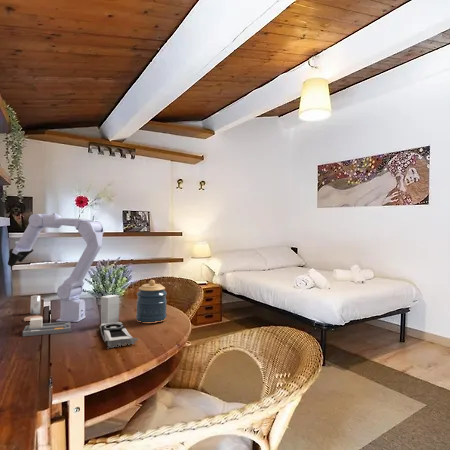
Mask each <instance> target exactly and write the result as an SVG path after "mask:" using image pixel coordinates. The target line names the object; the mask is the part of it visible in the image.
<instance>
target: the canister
mask: <svg viewBox="0 0 450 450" xmlns="http://www.w3.org/2000/svg"><path fill="white" fill-rule="evenodd" d="M167 295H168V293H167V291H166V287H165V286H164V285H162V284H160V283H156V281H155V280H154V279H150V280H149V281H148V283H145V284H142V285H141V286H139V287H138V292H136V296H137V300H136V314H135V319H136V321H137V320H138V321H141V322H155V321H161V320H164V319H165V318H166V319H167V301H168V300H167V299H166V298H167Z"/></svg>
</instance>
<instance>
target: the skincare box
mask: <svg viewBox="0 0 450 450" xmlns="http://www.w3.org/2000/svg"><path fill="white" fill-rule="evenodd" d="M119 314H120V295H118V294H113V295H112V294H109V295H103V296H100V325H101V324H107V323H116V322H120V321H119V320H120V318H119V317H120V315H119Z"/></svg>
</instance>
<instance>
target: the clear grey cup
mask: <svg viewBox="0 0 450 450" xmlns="http://www.w3.org/2000/svg"><path fill="white" fill-rule="evenodd" d="M41 296H42V295H39V294H38V295H37V294H35V295H31V296H30V315H31V314H36V315H40V314H41V307H42V305H41V304H42V303H41V302H42V301H41V298H42V297H41Z"/></svg>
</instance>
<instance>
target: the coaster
mask: <svg viewBox="0 0 450 450" xmlns="http://www.w3.org/2000/svg"><path fill="white" fill-rule="evenodd" d="M40 317H43V316H42V315H30V316H26V317H24V318H23V322H26V321H30V319H31V318H40Z"/></svg>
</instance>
